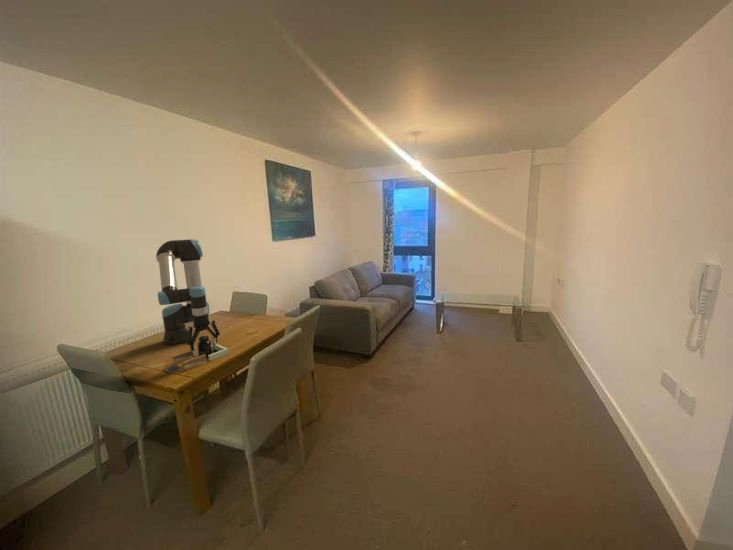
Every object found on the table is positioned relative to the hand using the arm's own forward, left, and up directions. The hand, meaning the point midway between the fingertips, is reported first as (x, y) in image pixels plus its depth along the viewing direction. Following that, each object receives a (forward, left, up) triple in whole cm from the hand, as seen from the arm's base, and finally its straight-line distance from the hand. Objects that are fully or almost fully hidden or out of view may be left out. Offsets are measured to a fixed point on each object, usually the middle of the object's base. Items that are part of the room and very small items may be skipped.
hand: (205, 351), depth 172 cm
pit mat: (0, -17, -3) cm, 17 cm away
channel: (0, -8, -3) cm, 9 cm away
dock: (0, +4, -3) cm, 5 cm away
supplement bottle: (0, 0, -4) cm, 4 cm away
